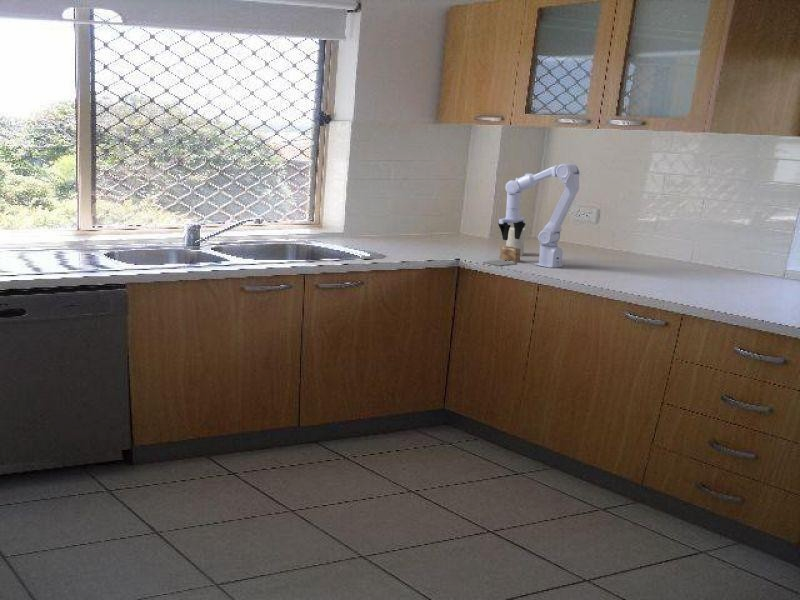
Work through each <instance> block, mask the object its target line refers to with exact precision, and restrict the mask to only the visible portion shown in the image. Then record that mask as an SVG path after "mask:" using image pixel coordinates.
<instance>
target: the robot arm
mask: <svg viewBox="0 0 800 600" xmlns="http://www.w3.org/2000/svg"><path fill="white" fill-rule="evenodd" d="M580 174H581V172H580V169H579V167H578V166H577V164H576V163H572V162H571V163H559V164H556V165H554V166H551V167H549V168H547V169H544V170H542V171H540V172H538V173H536V174H534V173H529V172H526V173H525V174H524V175H523V176H521V177H516V178H515V180H509V181H508V182H506V184H505V185H504V186H505V191H506V193H507V194H506V205H505V206H506V207H505V209H506V210H505V217H503V218H499V219H498V227H499V229H500V232H501V236H502V241H506V240H508V233H509V229H510V228H511V226H512V225H513V228H514V230H515V239H519V238H520V235H521V232H522V230H523V228H524V229H525V226H526V217H520V209H521V206H520V205H521V195H522V194H521V193H522V192H524V191H526V190H529V189H531V188H533V187H536V185H537V184H538V182H541V181H544V180H545V179H548V178H551V177H555V178H556V177H557V178H558V180H560V181H561V182H562V185H563V187H564V190H563V192H562V194H561V197H560V199H559V201H558V202H557V204H556V207H555V208H554V211H553V213H552V215H551V217H550V219H549V221H548V223H546V225H544V227H543V229H542V230H541V231H539V233H538V235H537V239H538V242H539V252H538V253H539V256H538V262H534V265H535V266H540V267H545V268H550V269H552V268H553V269H554V268H559V267H560V268H561V267H564V265H563V249H562V247H560V246H558V242H559V240H560V238H561V231H562V229H563V228H562V225H563V223H564V221H565V219H566V216H567V214H568V212H569V211H570V208H571V206H572V204H573V202H574V200H575V198H576V196H577V194H578V192H579V189H580ZM511 224H512V225H511Z"/></svg>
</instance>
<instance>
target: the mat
mask: <svg viewBox="0 0 800 600" xmlns="http://www.w3.org/2000/svg"><path fill="white" fill-rule="evenodd" d="M481 263H482V264H487V265H492V266H497V267H504V265H506V266H511V265H510V264H514V265H518V262H516V263H515V262H510V261H505V260H500V259H495V260H487V261H482V262H481Z"/></svg>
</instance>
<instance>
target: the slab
mask: <svg viewBox="0 0 800 600" xmlns="http://www.w3.org/2000/svg"><path fill="white" fill-rule="evenodd" d="M520 250H521V249H520V248H515V247H509V246H506V245H502V246H500V252H499V260H500V259H501V260H504V261H505V260H508V261H509V262H510V261H513V262H514V263H515V262H516V263H520V262H521V256H520Z"/></svg>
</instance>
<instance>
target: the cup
mask: <svg viewBox="0 0 800 600" xmlns="http://www.w3.org/2000/svg"><path fill="white" fill-rule="evenodd" d="M525 233H526V228H525V227H524V228H523V230H522V232H521V235H520V238H519V239H515V230H514V227H510V229H509V233H508V240H505V242H506V243H505V246H509V247H515V248H520V249H521V250H520V257H522V255H523V256H524V250H525V235H526V234H525Z"/></svg>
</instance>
